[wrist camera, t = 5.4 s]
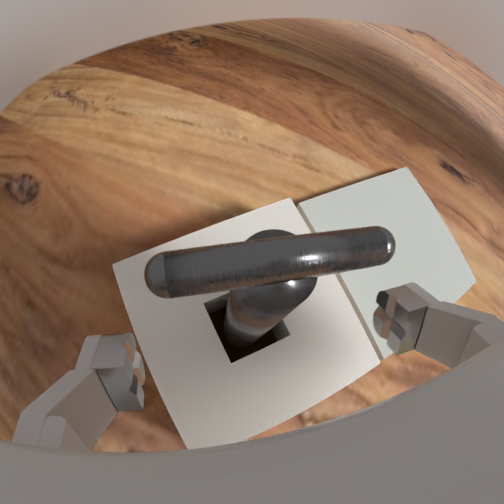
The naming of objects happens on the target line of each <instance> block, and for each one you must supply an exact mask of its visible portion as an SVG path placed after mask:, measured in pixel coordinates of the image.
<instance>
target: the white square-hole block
mask: <svg viewBox="0 0 504 504" xmlns="http://www.w3.org/2000/svg"><path fill="white" fill-rule="evenodd" d="M268 229H279V230H285V231H288V232H291V233H293V234H295V235H299V234H308V233H311V231H310V230H309V228H308V226H307V225H306V223H305V221H304V220H303V218H302V216H301V215H300V213H299V211H298V210H297V208H296V206H295V205H294V203H293V201H292V200H291V198H287V199H284V200H281V201H278V202H276V203H273V204H270V205H267V206H264V207H261V208H258V209H256V210H253V211H250V212H247V213H244V214H242V215H239V216H236V217H233V218H231V219H228V220H225V221H222V222H220V223H217V224H214V225H212V226H209V227H206V228H204V229H201V230H198V231H196V232H193V233H190V234H188V235H185V236H182V237H180V238H177V239H175V240H172V241H169V242H167V243H164V244H162V245H159V246H157V247H154V248H152V249H149V250H147V251H144V252H142V253H139V254H137V255H134V256H132V257H129V258H127V259H124V260H122V261H119V262H117V263H114V264H112V266H113V270H114V273H115V276H116V280H117V283H118V286H119V289H120V292H121V295H122V299H123V302H124V305H125V307H126V310H127V313H128V316H129V319H130V322H131V325H132V327H133V330H134V333H135V335H136V338H137V341H138V343H139V346H140V348H141V351H142V353H143V356H144V358H145V361H146V363H147V366H148V368H149V370H150V373H151V375H152V377H153V380H154V382H155V384H156V386H157V389H158V391H159V393H160V395H161V397H162V399H163V402H164V404H165V406H166V408H167V410H168V412H169V414H170V416H171V418H172V420H173V422H174V424H175V426H176V428H177V430H178V432H179V434H180V436H181V437H182V439H183V441H184V443H185V445H186V447H187V448H188V449H195V448H204V447H212V446H219V445H225V444H232V443H237V442H241V441H244V440H246V439H248V438H250V437H253V436H255V435H257V434H259V433H261V432H263V431H265V430H268V429H270V428H272V427H274V426H276V425H278V424H280V423H282V422H284V421H286V420H288V419H289V418H291V417H293V416H295V415H297V414H299V413H301V412H303V411H304V410H306V409H308V408H310V407H312V406H313V405H315V404H317V403H319V402H320V401H322V400H324V399H325V398H327V397H329V396H331V395H332V394H334V393H335V392H337V391H339V390H340V389H342V388H344V387H345V386H347V385H348V384H350V383H351V382H353V381H355V380H356V379H358V378H359V377H361V376H362V375H364V374H365V373H367V372H368V371H370V370H371V369H372V368H374V367H375V366H377V365H378V364H380V363H381V362H380V360H379V358H378V356H377V354H376V352H375V350H374V348H373V346H372V344H371V342H370V340H369V338H368V336H367V334H366V332H365V330H364V328H363V326H362V324H361V322H360V320H359V318H358V317H357V315H356V313H355V311H354V309H353V307H352V305H351V303H350V301H349V299H348V298H347V296H346V294H345V292H344V290H343V288H342V286H341V285H340V283H339V281H338V279H337V277H336V275H335V274H331V275H325V276H320V277H318V279H317V283H316V286H315V288H314V290H313V292H312V293H311V294H310V296H309V297H308V298H307V299H306V300H305V301H303V302H302V303H301V304H300V305H299V306H298V307H296V308H295V309H294V310H293V311H292V312H290V313H289V314H288V315H287V316H286V317H284V318H283V319H282V320H281V321H280V322H278V323H277V324H276V325H275V326H274V327H272V328H271V330H272V332H273V334H274V336H275V338H276V340H277V342H276V343H274V344H271V345H269V346H267V347H265V348H263V349H261V350H259V351H257V352H255V353H252V354H250V355H248V356H246V357H244V358H242V359H239V360H237V361H235V362H233V363H231V362H230V360H229V358H228V356H227V354H226V352H225V349H224V347H223V345H222V343H221V341H220V339H219V337H218V334H217V332H216V330H215V328H214V326H213V324H212V321H211V319H210V317H209V315H208V314H210V313H212V312H215V311H217V310H219V309H222V308H224V307H226V306H227V304H228V298H229V293H230V291H224V292H216V293H209V294H202V295H195V296H187V297H179V298H171V299H165V298H160V297H158V296H156V295H154V294H153V293H152V292H151V291H150V290H149V289H148V287H147V285H146V283H145V279H144V270H145V267H146V264H147V263H148V261H149V260H150V259H151V258H152V257H153V256H154V255H156V254H158V253H160V252H164V251H171V250H179V249H186V248H194V247H202V246H210V245H217V244H225V243H233V242H241V241H246V240H247V239H248V238H249V237H250V236H252V235H254V234H255V233H258V232H260V231H263V230H268Z"/></svg>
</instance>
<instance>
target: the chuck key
mask: <svg viewBox="0 0 504 504" xmlns="http://www.w3.org/2000/svg"><path fill="white" fill-rule="evenodd" d="M395 249H396V243H395V239H394V237H393V235H392V233H391V232H390V231H389V230H388V229H386V228H384V227H381V226H369V227H360V228H351V229H342V230H333V231H325V232H316V233H308V234H299V235H295V234H293V233H291V232H288V231H285V230H279V229H268V230H263V231H260V232H258V233H255V234H254V235H252V236H250V237H249V238H248V239H247V240H246V241H241V242H233V243H225V244H217V245H210V246H202V247H194V248H186V249H179V250H171V251H164V252H160V253H158V254H156V255H154V256H153V257H152V258H151V259H150V260H149V261H148V263H147V264H146V267H145V270H144V279H145V283H146V285H147V287H148V289H149V290H150V291H151V292H152V293H153V294H154V295H156V296H158V297H160V298H165V299H171V298H179V297H187V296H195V295H202V294H209V293H216V292H224V291H230V293H229V298H228V304H227V309H226V315H225V320H224V326H223V332H224V335H225V338H226V339H227V340H228V342H230V343H231V344H232V345H234V346H237V347H246V346H249V345H251V344H252V343H254V342H255V341H256V340H257V339H259V338H260V337H261V336H262V335H264V334H265V333H266V332H267V331H269V330H270V329H271V328H272V327H274V326H275V325H276V324H277V323H278V322H280V321H281V320H282V319H283V318H284V317H286V316H287V315H288V314H289V313H290V312H292V311H293V310H294V309H295V308H296V307H298V306H299V305H300V304H301V303H302V302H303V301H305V300H306V299H307V298H308V297H309V296H310V294H311V293H312V292H313V290H314V288H315V286H316V283H317V279H318V277H320V276H325V275H331V274H337V273H343V272H348V271H354V270H359V269H365V268H370V267H375V266H380V265H384V264H386V263H387V262H389V261H390V260H391V258H392V257H393V255H394V253H395Z"/></svg>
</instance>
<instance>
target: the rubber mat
mask: <svg viewBox="0 0 504 504" xmlns="http://www.w3.org/2000/svg"><path fill="white" fill-rule="evenodd" d="M297 210H298V211H299V213H300V215H301V216H302V218H303V220H304V221H305V223H306V225H307V226H308V228H309V230H310V231H311V233H316V232H325V231H333V230H342V229H351V228H360V227H369V226H381V227H384V228H386V229H388V230H389V231H390V232H391V233H392V235H393V237H394V239H395V243H396V249H395V253H394V255H393V257H392V258H391V260H390V261H389V262H387V263H386V264H384V265H380V266H375V267H370V268H365V269H359V270H354V271H348V272H343V273H337V274H335V275H336V277H337V279H338V281H339V283H340V285H341V286H342V288H343V290H344V292H345V294H346V296H347V298H348V299H349V301H350V303H351V305H352V307H353V309H354V311H355V313H356V315H357V317H358V318H359V320H360V322H361V324H362V326H363V328H364V330H365V332H366V334H367V336H368V338H369V340H370V342H371V344H372V346H373V348H374V350H375V352H376V354H377V356H378V358H379V360H382V359H385V358H387V357H388V356H389V355H391V354H392V353H393V351H392V350H391V349H390V348H389V346H388V345H387V339H384V338H382V337H380V336H379V335H378V334H377V333H376V331H375V329H374V326H373V314H374V311H375V310H376V309H377V307H378V305H377V303H376V298H377V295H378V293H379V291H382V290H386V289H390V288H394V287H398V286H401V285H404V284H407V283H411V282H413V283H416V284H418V285H419V286H420V287H422V288H423V289H424V290H426V291H427V292H428V293H430V294H431V295H432V296H434V297H435V298H436V299H437V300H439V301H440V302H442V301H445V302H449V303H452V304H453V303H454V302H455V301H456V300H458V299H459V298H460V297H461V296H462V295H463V294H464V293H465V292H466V291H467V290H468V289H469V288H470V287H471V286H472V285H473V284H474V283H475V282H476V279H475V277H474V275H473V273H472V271H471V269H470V267H469V265H468V264H467V262H466V260H465V258H464V256H463V254H462V252H461V250H460V249H459V247H458V245H457V243H456V241H455V240H454V238H453V236H452V235H451V233H450V231H449V229H448V228H447V226H446V224H445V223H444V221H443V219H442V218H441V216H440V215H439V213H438V211H437V210H436V208H435V207H434V205H433V204H432V202H431V201H430V199H429V198H428V196H427V195H426V193H425V192H424V190H423V189H422V187H421V186H420V184H419V183H418V182H417V180H416V179H415V177H414V176H413V175H412V173H411V172H410V170H409V169H408V168H407V167H404V168H401V169H398V170H395V171H392V172H389V173H386V174H383V175H380V176H376V177H373V178H370V179H367V180H364V181H361V182H358V183H355V184H352V185H349V186H347V187H344V188H341V189H338V190H335V191H332V192H329V193H326V194H323V195H320V196H317V197H315V198H312V199H309V200H306V201H303V202H300V203H298V206H297Z"/></svg>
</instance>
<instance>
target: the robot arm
mask: <svg viewBox="0 0 504 504" xmlns="http://www.w3.org/2000/svg"><path fill="white" fill-rule="evenodd" d="M376 303H377V305H378V307H377V309H376V310H375V311H374V314H373V326H374V329H375V331H376V333H377V334H378V335H379V336H380V337H382V338H384V339H387V345H388V346H389V348H390V349H391V350H392V351H393V352H394V353H395V354H396V355H399V354H402V353H405V352H408V351H410V350H413V349H415V350H416V351H418V352H420V353H422V354H424V355H426V356H428V357H430V358H432V359H434V360H436V361H438V362H440V363H442V364H444V365H446V366H448V367H450V368H451V369H450V370H448V371H446V372H444V373H442V374H440V375H438V376H436V377H434V378H432V379H430V380H428V381H426V382H424V383H422V384H420V385H418V386H416V387H414V388H412V389H409V390H407V391H405V392H403V393H400V394H398V395H396V396H394V397H391V398H389V399H386V400H384V401H381V402H379V403H376V404H374V405H371V406H369V407H366V408H363V409H361V410H358V411H355V412H352V413H349V414H347V415H344V416H341V417H338V418H335V419H331V420H328V421H325V422H322V423H318V424H315V425H312V426H308V427H304V428H301V429H297V430H293V431H289V432H285V433H281V434H277V435H272V436H268V437H263V438H259V439H254V440H248V441H243V442H237V443H232V444H225V445H219V446H212V447H204V448H195V449H186V450H174V451H160V452H133V453H113V452H90V451H91V449H92V448H93V447H94V445H95V444H96V442H97V441H98V440H99V438H100V437H101V435H102V434H103V433H104V431H105V430H106V428H107V427H108V426H109V424H110V423H111V421H112V420H113V419H114V417H115V416H116V414H117V411H132V410H143V405H144V392H143V389H142V387H141V386H142V385H143V384H144V383H145V370H144V364H143V360H142V357H141V354H139V353H138V352H137V351H136V345H137V343H136V340H135V337H134V335H133V334H132V333H119V334H104V335H91V336H87V337H86V338H85V340H84V343H83V346H82V348H81V351H80V354H79V357H78V360H77V363H76V366H75V369H74V370H70V371H68V372H67V373H66V374H65V375H64V376H62V377H61V378H60V379H59V380H58V381H57V382H55V383H54V384H53V385H52V386H51V387H49V388H48V389H47V390H46V391H45V392H44V393H42V394H41V395H40V396H39V397H38V398H37V399H35V400H34V401H33V402H32V403H31V404H30V405H29V406H27V407H26V408H25V409H24V410H23V411H22V412H21V414H20V417H19V420H18V423H17V426H16V429H15V432H14V435H13V438H12V441H11V442H9V441H5V440H0V504H504V322H502V321H501V320H500V319H498V318H497V317H496V316H495V315H492V314H488V313H485V312H481V311H477V310H474V309H470V308H467V307H463V306H459V305H456V304H452V303H449V302H445V301H442V302H440V301H439V300H437V299H436V298H435V297H434V296H432V295H431V294H430V293H428V292H427V291H426V290H424V289H423V288H422V287H420V286H419V285H418V284H416V283H413V282H411V283H407V284H404V285H401V286H398V287H394V288H390V289H386V290H382V291H379V293H378V295H377V298H376Z"/></svg>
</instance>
